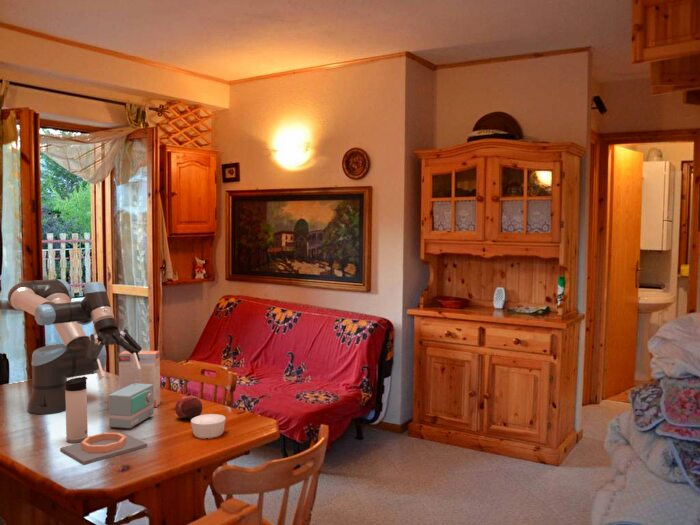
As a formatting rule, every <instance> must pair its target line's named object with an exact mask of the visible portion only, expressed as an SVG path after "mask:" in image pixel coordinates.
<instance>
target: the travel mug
mask: <svg viewBox="0 0 700 525" xmlns="http://www.w3.org/2000/svg"><path fill="white" fill-rule="evenodd" d="M87 380H88V377H87V376H86V375H83V376H78V377H72V378H70V379H67V381H66V385H65V387H66V388H65V391H66V392H65V397H66V410H65V426H66V427H65V431H66V432H65V434H66V437H65V438H66V442H67V443H70V444H77V443H81V442H82V441H83V440H84V439H85V438H87V437H89V436H88V433H89V432H88V431H89V430H88V429H89V428H88V389H87Z"/></svg>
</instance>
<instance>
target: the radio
mask: <svg viewBox="0 0 700 525" xmlns="http://www.w3.org/2000/svg"><path fill="white" fill-rule="evenodd" d="M135 373H136V363H135V372H134V383H133V384H131V385H129V386H127V387H125V388H122V389H120V390H119V389H118V390H116V391H114V392H112V393H110V394H108V414H109V415H108V418H109V420H108V423H109V424H108V425H109V427H110V428H116V429H128V430H129V429H130V430H131V429H132V428H134V426H136V425H138V424H140V423H142V422H143V421H145V420H147V419H150V418H151V417H152V416H153V415H154V414H155V412H154V411H155V409H154V408H155V407H154V396H153V384H139V383H135Z"/></svg>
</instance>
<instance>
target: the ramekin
mask: <svg viewBox="0 0 700 525" xmlns="http://www.w3.org/2000/svg"><path fill="white" fill-rule="evenodd" d="M226 419H227V418H226V416H224V415H223V414H219V413H218V414H217V413H209V414H208V413H207V414H200V415H199V416H197V417H194V418H193V419H190V424H191V427H192V432H193V435H194V436H195V437H196V438H198V439H206V438H208V439H215V438H218V437H220V436H221V435H222V434H223V433H224V430H225V426H226ZM214 437H215V438H214Z"/></svg>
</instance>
